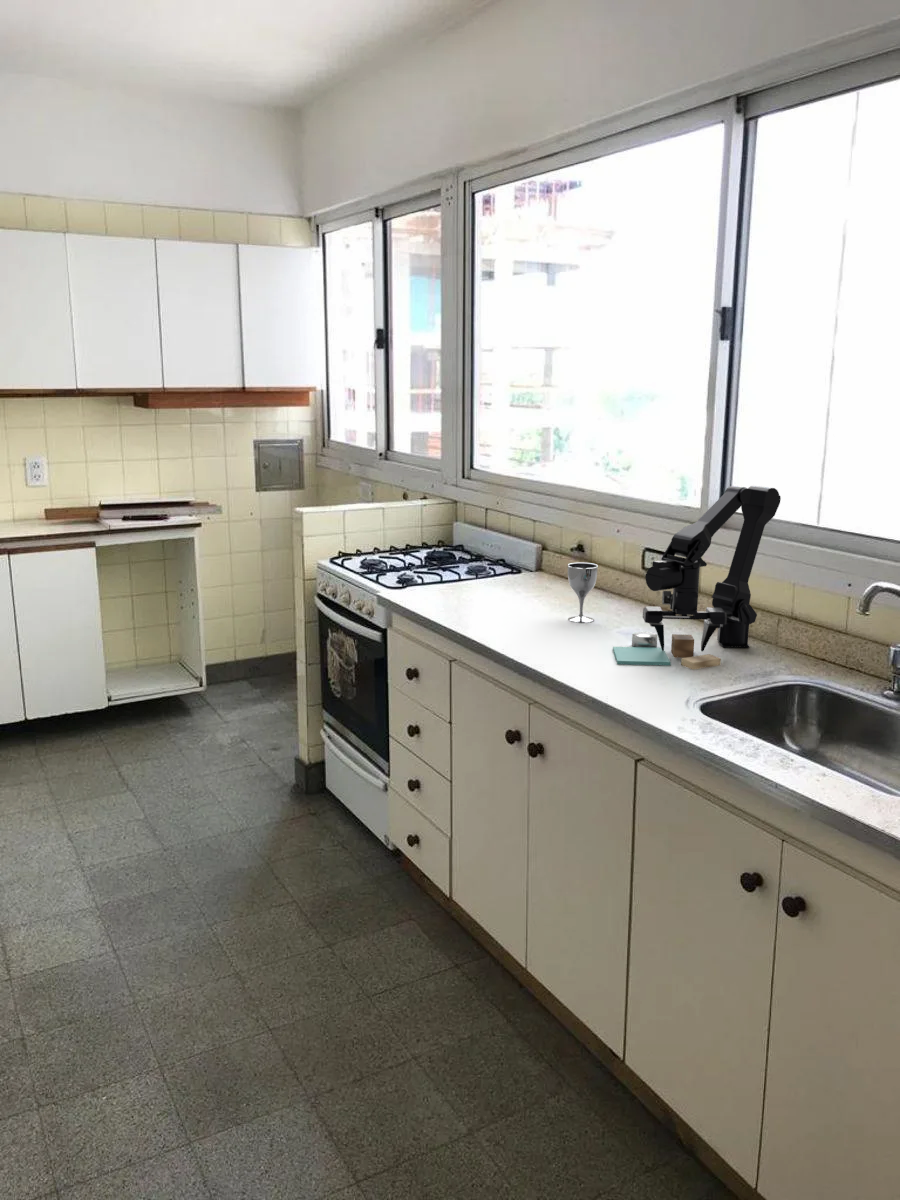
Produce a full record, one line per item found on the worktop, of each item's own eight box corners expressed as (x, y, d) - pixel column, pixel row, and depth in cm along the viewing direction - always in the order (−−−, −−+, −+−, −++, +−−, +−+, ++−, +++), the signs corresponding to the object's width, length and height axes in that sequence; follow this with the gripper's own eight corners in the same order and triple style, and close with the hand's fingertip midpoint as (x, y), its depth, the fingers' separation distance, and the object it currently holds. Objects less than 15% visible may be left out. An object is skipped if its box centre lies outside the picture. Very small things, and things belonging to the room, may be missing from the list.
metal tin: (655, 643, 241) (655, 631, 241) (658, 650, 236) (658, 638, 235) (630, 643, 242) (631, 631, 241) (633, 649, 236) (633, 637, 235)
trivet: (663, 650, 235) (663, 647, 234) (670, 665, 223) (670, 662, 223) (612, 649, 235) (612, 646, 235) (617, 664, 224) (617, 660, 224)
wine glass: (572, 624, 259) (574, 568, 256) (561, 617, 267) (563, 563, 263) (600, 622, 261) (602, 567, 258) (588, 615, 269) (590, 561, 265)
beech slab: (708, 662, 227) (709, 654, 226) (720, 666, 223) (720, 658, 223) (681, 666, 224) (681, 658, 223) (692, 671, 220) (692, 662, 220)
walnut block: (690, 652, 233) (691, 634, 232) (693, 658, 229) (694, 639, 228) (670, 652, 234) (672, 634, 233) (673, 657, 229) (674, 639, 228)
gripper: (719, 579, 235) (715, 642, 238) (641, 578, 236) (638, 640, 240) (729, 589, 224) (724, 655, 227) (647, 588, 225) (643, 653, 229)
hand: (682, 650), depth 231 cm, fingers open, 9 cm apart
